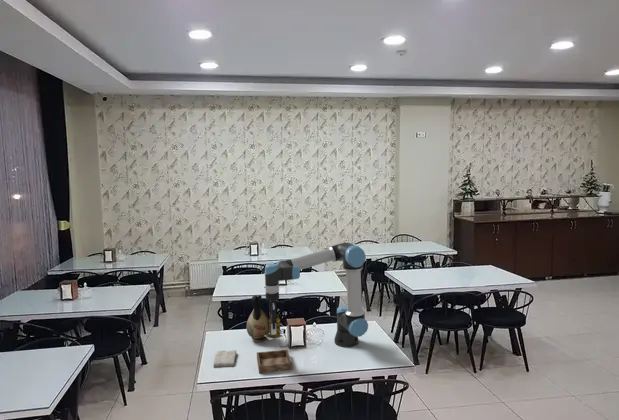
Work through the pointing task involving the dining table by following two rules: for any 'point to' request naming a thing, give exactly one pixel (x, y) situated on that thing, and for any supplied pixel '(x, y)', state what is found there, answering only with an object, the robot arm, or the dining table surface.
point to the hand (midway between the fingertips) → (273, 331)
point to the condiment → (276, 329)
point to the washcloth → (225, 358)
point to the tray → (274, 361)
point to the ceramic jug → (257, 322)
